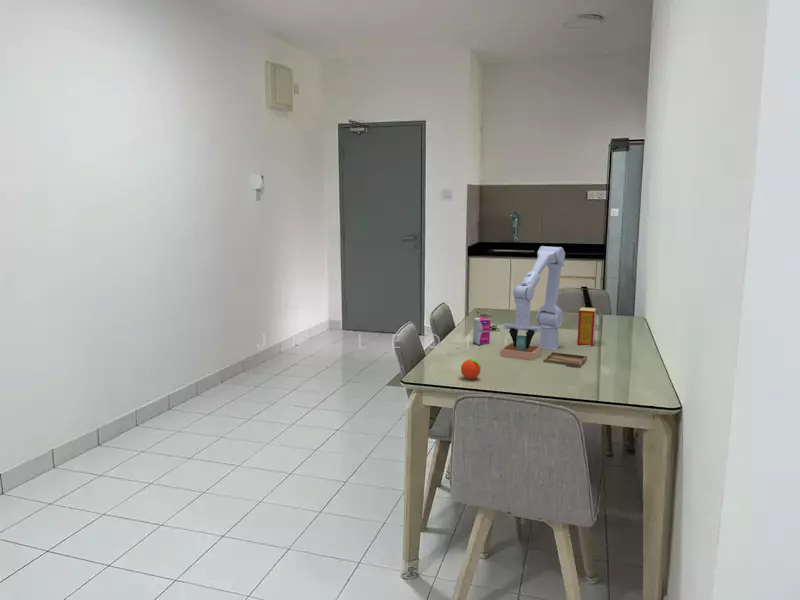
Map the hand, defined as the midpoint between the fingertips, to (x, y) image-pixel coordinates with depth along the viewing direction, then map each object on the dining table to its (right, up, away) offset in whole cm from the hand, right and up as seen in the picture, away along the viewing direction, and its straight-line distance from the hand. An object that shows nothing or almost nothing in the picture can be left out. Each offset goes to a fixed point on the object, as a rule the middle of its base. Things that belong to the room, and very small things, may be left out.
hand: (521, 347), depth 250 cm
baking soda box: (+34, 0, +24) cm, 42 cm away
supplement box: (-14, 0, +22) cm, 26 cm away
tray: (+16, -5, -8) cm, 18 cm away
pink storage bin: (0, -4, +1) cm, 4 cm away
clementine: (-24, -9, -33) cm, 42 cm away
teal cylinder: (0, -1, 0) cm, 1 cm away
